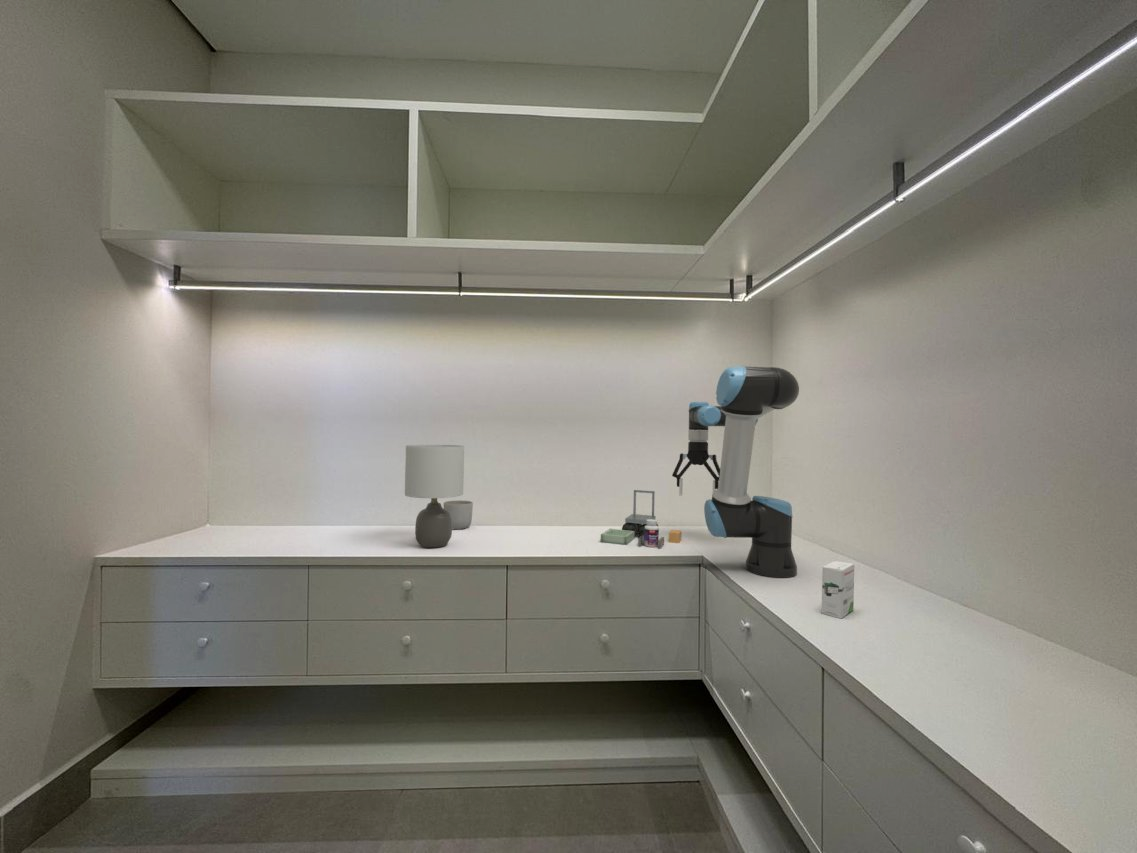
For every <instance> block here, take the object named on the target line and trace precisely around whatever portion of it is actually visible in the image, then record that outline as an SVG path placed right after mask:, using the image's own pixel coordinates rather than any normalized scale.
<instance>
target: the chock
mask: <svg viewBox="0 0 1137 853" xmlns="http://www.w3.org/2000/svg"><path fill="white" fill-rule="evenodd" d="M681 542H682V529H671V530H669V532H668V543H674V544H680V543H681Z"/></svg>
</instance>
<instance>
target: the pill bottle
mask: <svg viewBox="0 0 1137 853" xmlns="http://www.w3.org/2000/svg"><path fill="white" fill-rule="evenodd" d="M646 524H647V525H646V526H645V528H644V544H643V545H644V546H645V547H649V548H656V547H657V548H658V540H659V539H660V538H659V534H660V532H659V531H660V527H659V525H658V526H656V525H657V524H658V520H657V519H655V520H653V519H648V520H647V521H646Z"/></svg>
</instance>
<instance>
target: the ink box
mask: <svg viewBox="0 0 1137 853" xmlns="http://www.w3.org/2000/svg"><path fill="white" fill-rule="evenodd" d="M821 571H822V572H821V573H822V577H821V614H823V615H826V616H829V617H834V618H837V619H843V618H844V617H846V616H847V615H849V614H850V613H851V612H853V611H854V604H855V602H854V600H855V599H854V598H855V596H854V594H855V564H854V563H852V562H846V561H845V562H843V561H836V560H833V561H832V562H830V563H828V564H825V565H823V566H822V570H821Z"/></svg>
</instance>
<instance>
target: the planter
mask: <svg viewBox="0 0 1137 853" xmlns="http://www.w3.org/2000/svg"><path fill="white" fill-rule="evenodd" d="M473 506H474V502H473V501H471V500H460V499H459V500H448V501H444V502H443V508H444V509H446V510H447V511H448V512H449V513H450V516H451V521H452V530H465V529H468V528H469V527H470V526H471V525H472V518H473Z"/></svg>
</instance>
